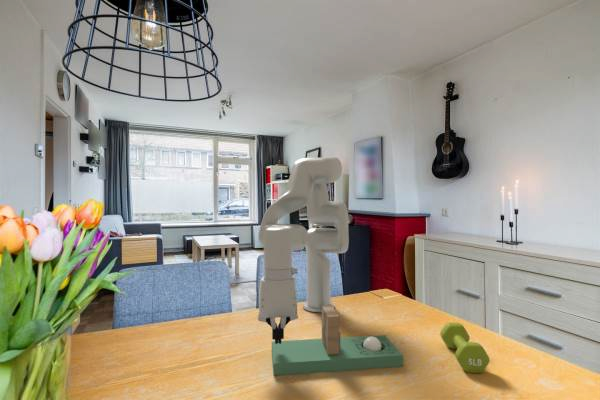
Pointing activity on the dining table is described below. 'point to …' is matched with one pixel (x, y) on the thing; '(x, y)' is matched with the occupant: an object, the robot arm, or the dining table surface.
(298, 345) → the putting mat
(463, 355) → the dumbbell
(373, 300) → the dining table surface
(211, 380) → the dining table surface
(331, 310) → the upright wooden plank
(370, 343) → the ball
